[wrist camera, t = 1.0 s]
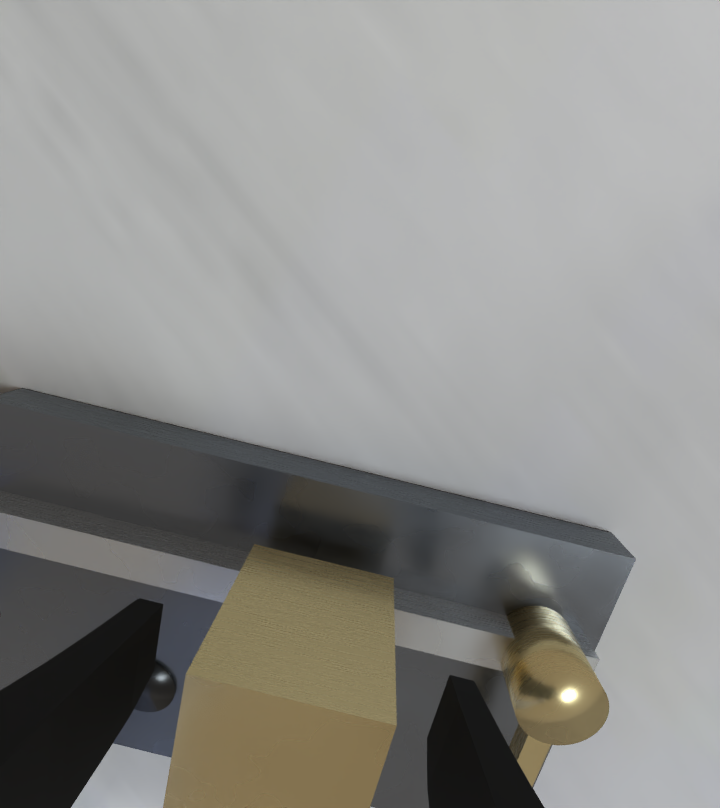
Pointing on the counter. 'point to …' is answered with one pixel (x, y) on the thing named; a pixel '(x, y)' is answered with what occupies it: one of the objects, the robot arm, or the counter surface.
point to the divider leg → (289, 690)
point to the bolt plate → (303, 535)
